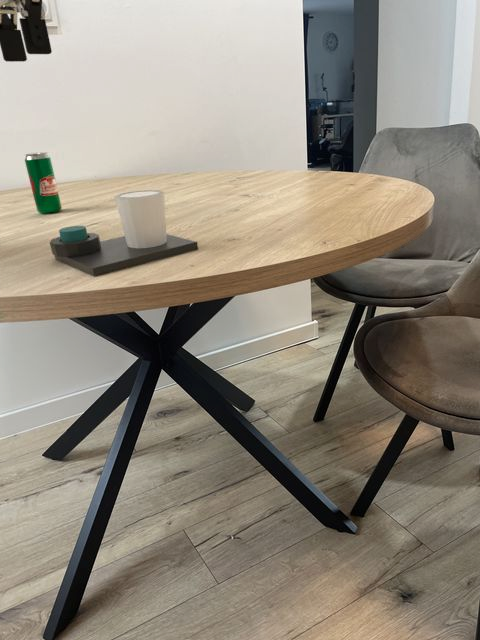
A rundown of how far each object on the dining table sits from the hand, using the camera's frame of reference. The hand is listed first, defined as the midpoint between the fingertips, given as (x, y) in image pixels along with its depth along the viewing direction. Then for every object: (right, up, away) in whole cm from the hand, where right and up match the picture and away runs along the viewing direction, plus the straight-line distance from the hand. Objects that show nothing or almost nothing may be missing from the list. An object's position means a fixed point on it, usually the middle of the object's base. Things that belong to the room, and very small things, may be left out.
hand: (27, 57), depth 72 cm
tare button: (+7, -26, 0) cm, 27 cm away
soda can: (-13, -12, +39) cm, 43 cm away
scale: (+14, -28, +2) cm, 31 cm away
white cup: (+16, -26, +2) cm, 31 cm away
